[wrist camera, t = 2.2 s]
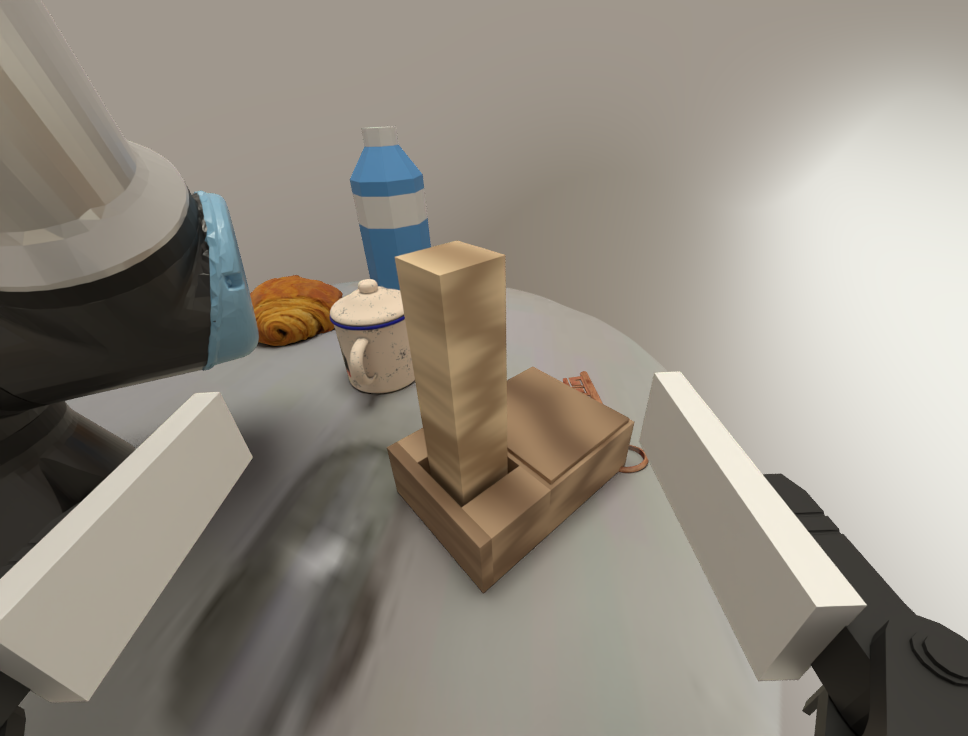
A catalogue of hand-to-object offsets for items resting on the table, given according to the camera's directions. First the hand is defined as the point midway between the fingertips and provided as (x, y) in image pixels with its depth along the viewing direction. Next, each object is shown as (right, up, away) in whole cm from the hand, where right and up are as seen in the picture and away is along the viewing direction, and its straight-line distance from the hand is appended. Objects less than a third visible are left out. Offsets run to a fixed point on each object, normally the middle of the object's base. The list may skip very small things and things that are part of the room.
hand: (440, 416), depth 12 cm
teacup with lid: (-11, 0, +34) cm, 36 cm away
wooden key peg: (0, -10, +18) cm, 21 cm away
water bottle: (-11, +10, +49) cm, 52 cm away
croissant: (-27, +8, +48) cm, 56 cm away
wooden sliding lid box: (+4, -8, +21) cm, 22 cm away
